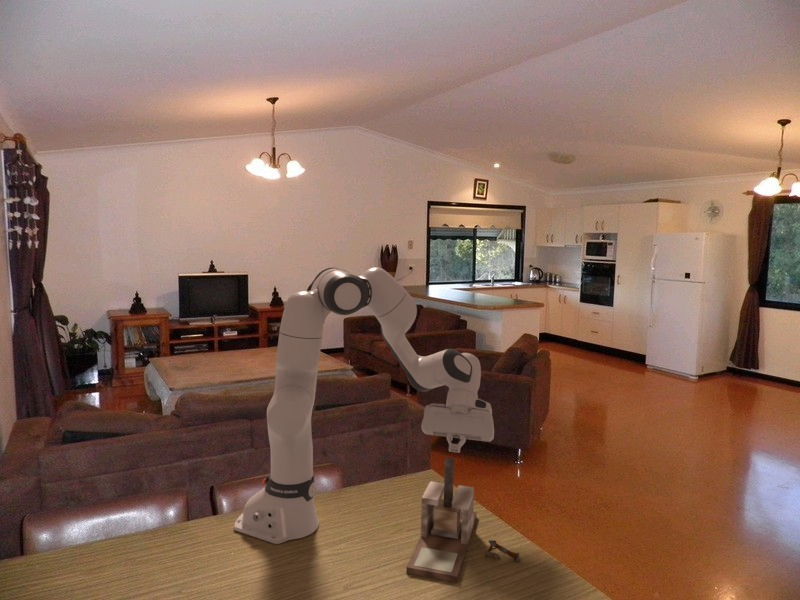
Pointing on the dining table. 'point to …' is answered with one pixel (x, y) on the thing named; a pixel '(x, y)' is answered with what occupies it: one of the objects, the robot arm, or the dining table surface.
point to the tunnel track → (441, 552)
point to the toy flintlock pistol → (502, 549)
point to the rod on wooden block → (447, 508)
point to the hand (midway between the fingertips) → (454, 451)
